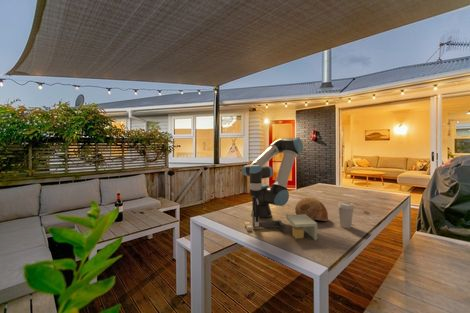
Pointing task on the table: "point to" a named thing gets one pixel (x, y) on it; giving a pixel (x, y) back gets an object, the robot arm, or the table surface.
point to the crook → (267, 223)
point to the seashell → (312, 209)
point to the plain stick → (248, 226)
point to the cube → (298, 232)
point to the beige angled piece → (304, 224)
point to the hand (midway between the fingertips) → (256, 224)
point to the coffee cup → (345, 214)
